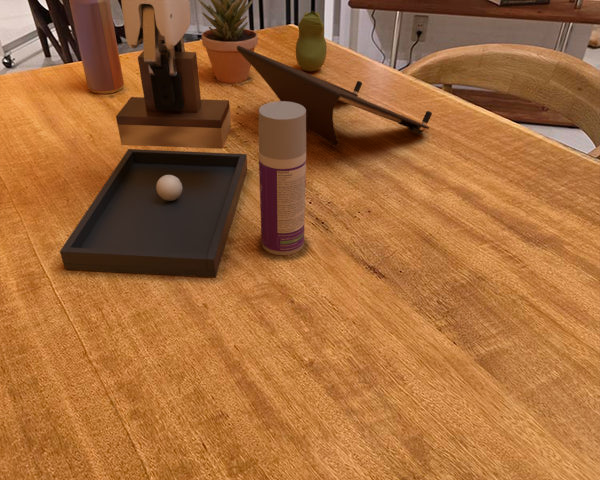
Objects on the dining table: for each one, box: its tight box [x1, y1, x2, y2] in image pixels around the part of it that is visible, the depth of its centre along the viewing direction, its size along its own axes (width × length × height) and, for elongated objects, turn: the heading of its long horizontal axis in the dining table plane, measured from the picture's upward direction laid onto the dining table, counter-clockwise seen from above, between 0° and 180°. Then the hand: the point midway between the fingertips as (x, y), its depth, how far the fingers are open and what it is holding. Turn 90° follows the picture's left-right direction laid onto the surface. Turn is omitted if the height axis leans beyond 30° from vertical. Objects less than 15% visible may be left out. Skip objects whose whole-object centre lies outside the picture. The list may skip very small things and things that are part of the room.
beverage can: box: [68, 0, 125, 95], centre depth 95 cm, size 6×6×15 cm
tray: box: [59, 148, 248, 278], centre depth 68 cm, size 16×24×2 cm, turn 176°
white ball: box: [156, 175, 182, 201], centre depth 69 cm, size 3×3×3 cm
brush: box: [115, 50, 232, 150], centre depth 68 cm, size 12×6×10 cm, turn 86°
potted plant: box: [197, 0, 259, 84], centre depth 98 cm, size 10×10×25 cm
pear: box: [295, 10, 328, 73], centre depth 105 cm, size 6×5×10 cm
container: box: [258, 100, 307, 256], centre depth 60 cm, size 5×5×15 cm
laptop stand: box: [237, 46, 433, 147], centre depth 86 cm, size 23×23×9 cm
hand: (172, 103), depth 68 cm, fingers closed on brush, 2 cm apart
